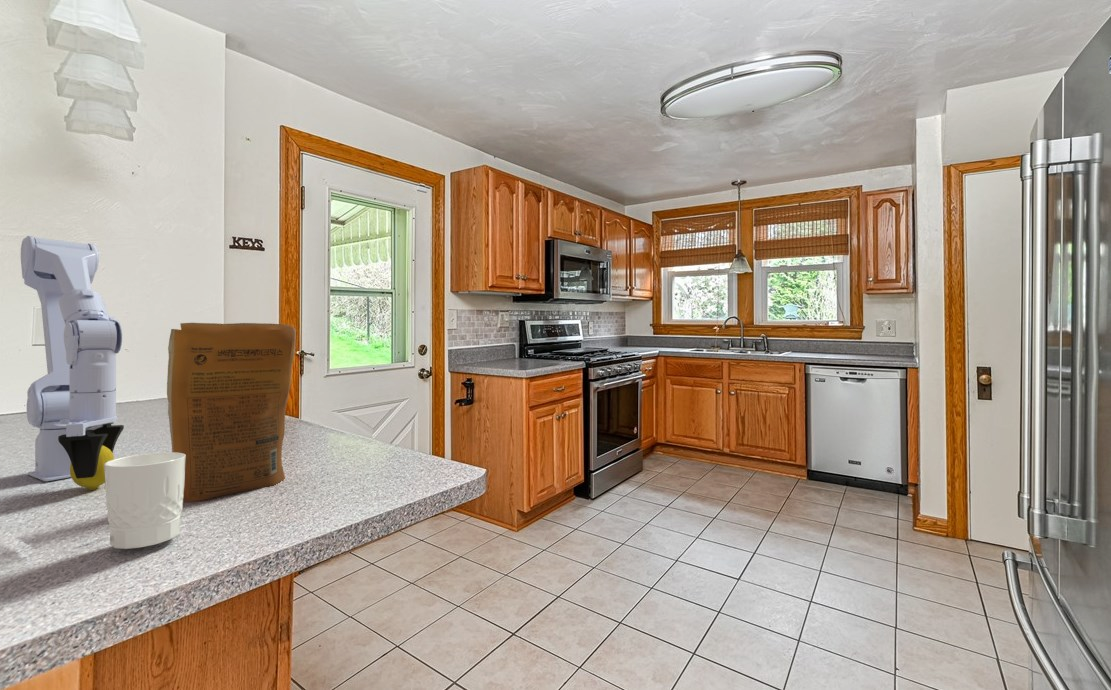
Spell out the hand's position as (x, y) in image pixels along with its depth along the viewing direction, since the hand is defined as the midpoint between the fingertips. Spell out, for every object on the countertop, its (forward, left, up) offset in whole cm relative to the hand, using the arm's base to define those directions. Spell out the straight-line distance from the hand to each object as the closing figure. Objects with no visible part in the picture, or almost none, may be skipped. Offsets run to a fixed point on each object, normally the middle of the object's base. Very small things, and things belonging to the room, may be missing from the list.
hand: (93, 473), depth 83 cm
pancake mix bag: (+22, +12, -3) cm, 25 cm away
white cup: (+33, -5, -3) cm, 34 cm away
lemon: (0, 0, -3) cm, 3 cm away
